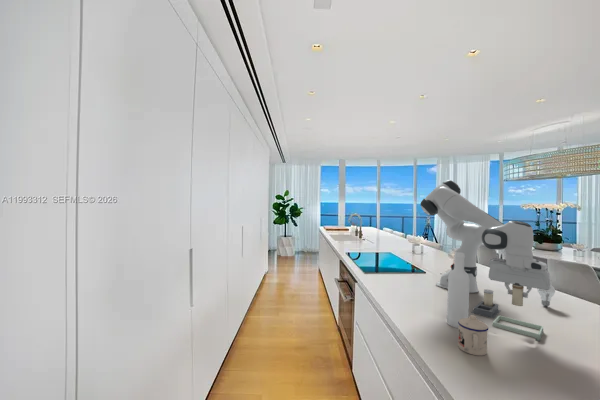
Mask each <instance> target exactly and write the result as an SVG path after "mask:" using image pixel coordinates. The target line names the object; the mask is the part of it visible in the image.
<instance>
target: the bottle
mask: <svg viewBox="0 0 600 400" xmlns="http://www.w3.org/2000/svg"><path fill="white" fill-rule="evenodd" d="M453 258H454V262H453V263H454V269H453V270H452V271H451V272H450V274H449V276H448V289H447V305H446V306H447V307H446V323H447V324H448V325H449V326H450V327H453V328H456V329H459V324H458V321H459V320H460V319H462V318H468V317H469V309H470V308H469V307H470V306H469V304H470V293H469V281H470V279H469V276H468V274H467V273H466V272H465V271H464V258H465V256H464V253H461V252H455V251H454V255H453Z"/></svg>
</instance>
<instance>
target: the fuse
mask: <svg viewBox="0 0 600 400" xmlns="http://www.w3.org/2000/svg"><path fill="white" fill-rule="evenodd" d="M483 301H484V305H487V306H491V307H493V304H494V290H492V289H488V288H487V289H483Z"/></svg>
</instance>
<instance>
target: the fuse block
mask: <svg viewBox="0 0 600 400" xmlns="http://www.w3.org/2000/svg"><path fill="white" fill-rule="evenodd" d="M501 311H502V310H501V309H499V304H497V303H493V307H491V306H487V305H484V300H481V301H480V302H479V303H477V304H476V305H475V306H474V307H473V310H472V311H470V313H471V314H473V315H474V314H475V315H479V316H481V317H482V316H483V317H486V318H490V319H494V320H495V319H496V318H497V317H498V316H499V314H500V312H501Z"/></svg>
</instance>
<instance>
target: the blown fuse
mask: <svg viewBox="0 0 600 400" xmlns="http://www.w3.org/2000/svg"><path fill="white" fill-rule="evenodd" d="M511 288H512V289H511V290H512V295H511V305H513V306H515V307H523V306H524V297H523V292H524V289H525V286H521V285H520V284H519V283H515V284H511Z"/></svg>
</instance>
